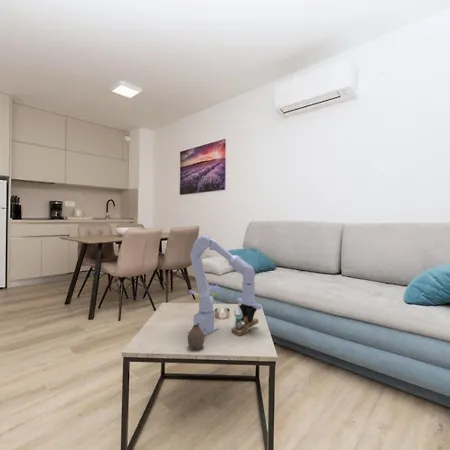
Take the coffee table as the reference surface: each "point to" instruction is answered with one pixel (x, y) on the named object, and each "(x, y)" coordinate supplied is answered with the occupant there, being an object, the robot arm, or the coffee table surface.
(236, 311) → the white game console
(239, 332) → the link
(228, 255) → the robot arm
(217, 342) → the coffee table surface
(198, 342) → the vase
